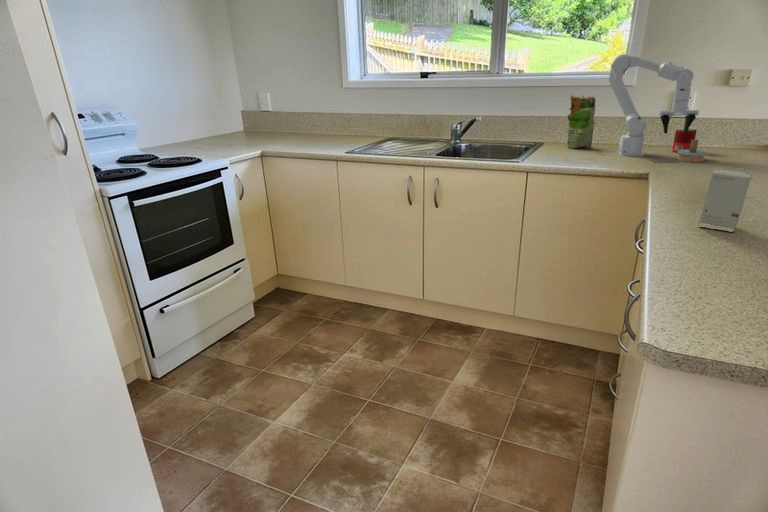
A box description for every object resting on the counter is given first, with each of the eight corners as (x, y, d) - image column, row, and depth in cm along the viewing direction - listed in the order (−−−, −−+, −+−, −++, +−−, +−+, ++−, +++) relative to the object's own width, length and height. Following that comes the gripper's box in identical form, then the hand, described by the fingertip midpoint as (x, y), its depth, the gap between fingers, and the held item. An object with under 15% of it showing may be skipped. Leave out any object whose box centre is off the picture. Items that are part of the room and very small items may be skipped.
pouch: (592, 149, 233) (599, 95, 224) (566, 149, 236) (571, 96, 227) (589, 145, 243) (595, 93, 234) (564, 145, 246) (569, 94, 237)
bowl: (682, 162, 201) (683, 155, 200) (675, 158, 209) (676, 151, 208) (706, 162, 199) (708, 155, 198) (698, 158, 207) (700, 151, 206)
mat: (653, 163, 201) (653, 162, 201) (647, 158, 210) (647, 158, 210) (680, 163, 199) (680, 162, 199) (672, 159, 208) (672, 158, 208)
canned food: (694, 154, 215) (699, 129, 211) (675, 154, 217) (679, 129, 213) (688, 151, 222) (693, 126, 218) (669, 151, 224) (673, 126, 220)
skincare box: (697, 227, 129) (710, 172, 123) (702, 221, 133) (714, 168, 128) (735, 233, 124) (750, 176, 118) (738, 227, 128) (752, 172, 123)
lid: (681, 156, 199) (684, 142, 197) (673, 151, 209) (676, 137, 206) (711, 156, 196) (714, 142, 194) (702, 151, 206) (705, 137, 204)
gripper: (664, 101, 200) (659, 134, 205) (703, 100, 197) (697, 134, 202) (659, 99, 207) (654, 132, 212) (697, 98, 203) (691, 131, 208)
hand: (675, 133), depth 207 cm, fingers open, 7 cm apart
